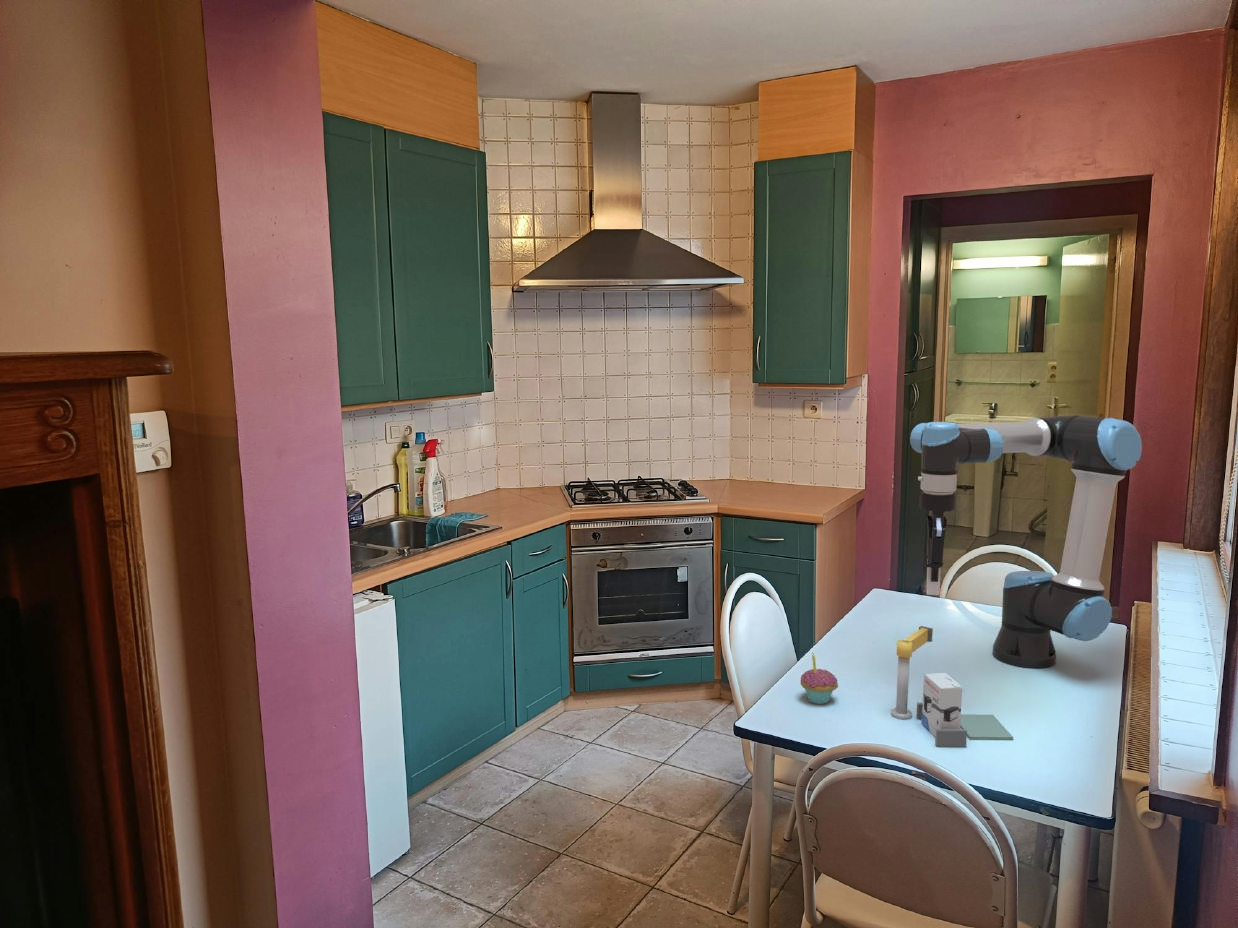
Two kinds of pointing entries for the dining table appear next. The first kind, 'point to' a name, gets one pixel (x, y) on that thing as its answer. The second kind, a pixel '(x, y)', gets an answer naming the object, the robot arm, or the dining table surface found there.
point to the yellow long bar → (914, 642)
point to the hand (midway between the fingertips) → (932, 593)
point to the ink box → (941, 702)
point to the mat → (984, 727)
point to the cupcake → (818, 684)
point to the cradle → (901, 712)
